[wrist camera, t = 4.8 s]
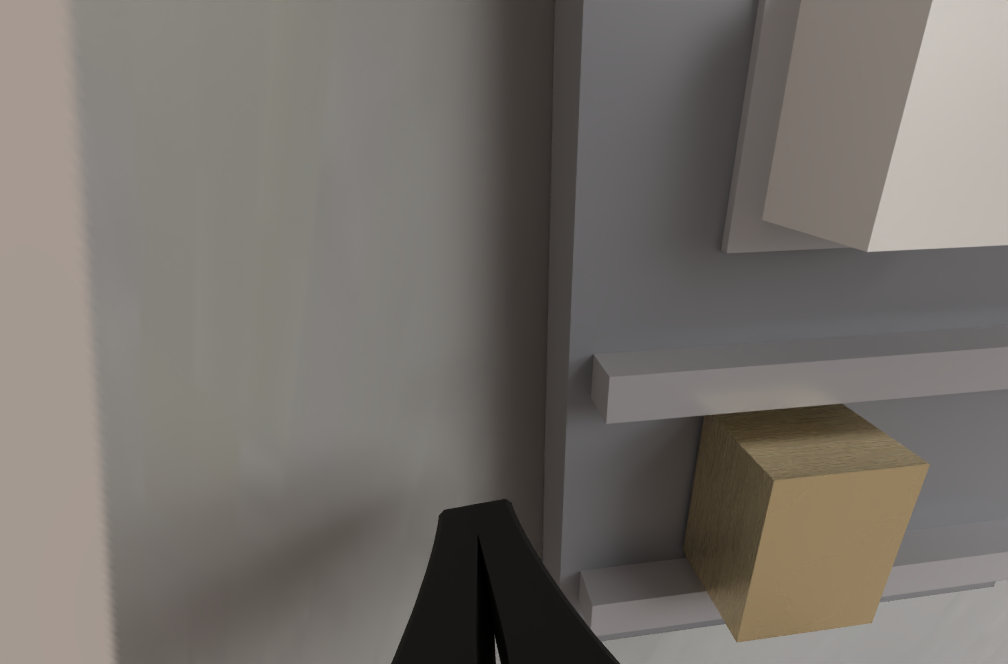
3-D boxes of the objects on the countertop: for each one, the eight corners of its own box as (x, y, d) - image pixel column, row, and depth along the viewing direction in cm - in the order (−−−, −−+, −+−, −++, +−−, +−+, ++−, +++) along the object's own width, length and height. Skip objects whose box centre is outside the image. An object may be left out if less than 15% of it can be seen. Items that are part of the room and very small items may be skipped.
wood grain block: (833, 397, 11) (930, 463, 9) (796, 537, 13) (871, 622, 11) (705, 408, 11) (774, 480, 9) (682, 550, 13) (736, 642, 10)
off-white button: (1031, -34, 9) (1254, -90, 6) (953, 212, 10) (1108, 240, 8) (807, -39, 8) (960, -103, 6) (761, 220, 10) (867, 251, 7)
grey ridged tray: (1420, -704, 8) (1966, -1155, 5) (931, 535, 17) (1030, 616, 14) (574, -898, 6) (693, -1711, 3) (541, 584, 15) (567, 685, 13)
